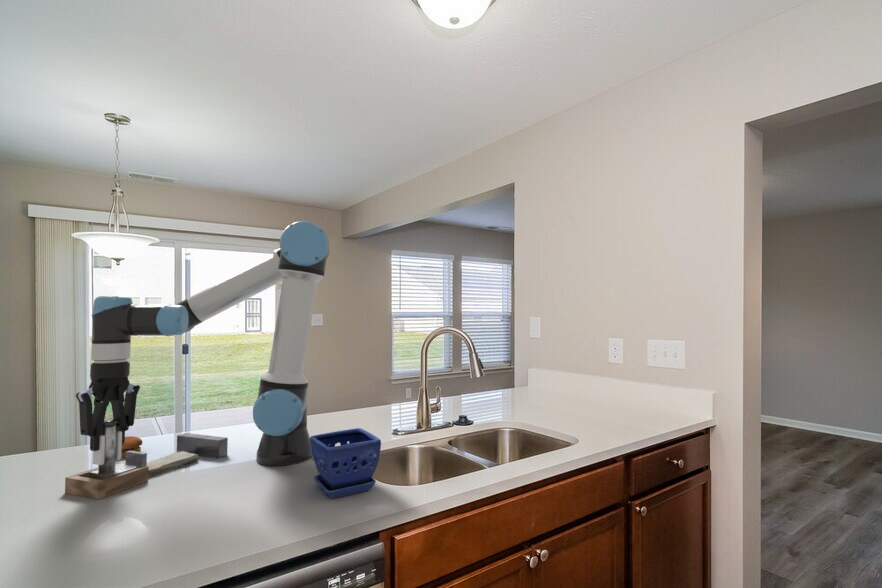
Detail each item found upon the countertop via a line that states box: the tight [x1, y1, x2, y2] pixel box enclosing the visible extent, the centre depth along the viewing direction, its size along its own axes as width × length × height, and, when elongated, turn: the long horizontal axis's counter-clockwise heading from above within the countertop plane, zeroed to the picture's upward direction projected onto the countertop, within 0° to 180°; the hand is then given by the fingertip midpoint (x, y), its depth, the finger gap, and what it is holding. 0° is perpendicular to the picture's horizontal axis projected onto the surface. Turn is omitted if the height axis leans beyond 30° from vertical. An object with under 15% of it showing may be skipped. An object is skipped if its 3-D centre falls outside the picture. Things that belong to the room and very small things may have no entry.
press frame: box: [64, 461, 149, 501], centre depth 105 cm, size 11×12×4 cm
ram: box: [90, 419, 148, 480], centre depth 107 cm, size 7×9×14 cm
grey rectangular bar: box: [176, 432, 229, 459], centre depth 129 cm, size 16×3×5 cm, turn 71°
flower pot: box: [310, 427, 382, 499], centre depth 104 cm, size 13×13×12 cm
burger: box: [121, 435, 143, 459], centre depth 130 cm, size 10×9×5 cm
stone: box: [147, 451, 199, 477], centre depth 119 cm, size 15×11×3 cm
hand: (107, 461), depth 104 cm, fingers closed on ram, 3 cm apart
